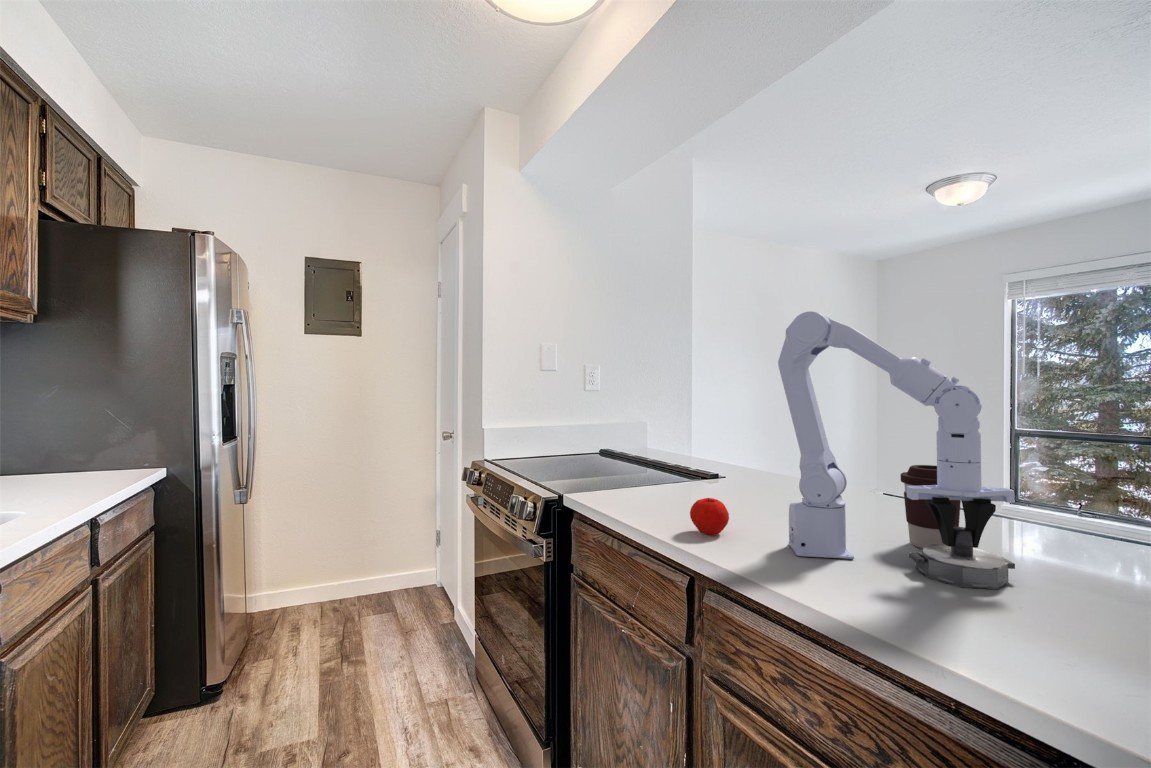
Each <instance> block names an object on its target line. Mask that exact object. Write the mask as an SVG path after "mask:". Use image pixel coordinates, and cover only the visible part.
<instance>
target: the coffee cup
mask: <svg viewBox="0 0 1151 768" xmlns="http://www.w3.org/2000/svg"><path fill="white" fill-rule="evenodd" d="M900 483H903V484H904V492H903V497H904V499H903V500H904V510H905V519H906V522H907V527H908V539H909V543H910V544H911V545H913V547H917V548H918V549H920V548H923V547H924V546H927V545H933V544H943V543H942V539H941V535H940V531H939V528H938V526H937V523H936V521H935V518H934V516H933V514H932V512H931V511H930V509H929V507H928V506H927V504H926V502H925V499H919V500H912V499H910V498H908V497H907V486H924V485H937V465H935V464H934V465H933V464H932V465H931V464H914V465H910V466H909V468H908V470H907V471H904V472H901V473H900ZM949 496H950V495H949ZM949 502H951V504H952V505H954V506H956V507H957V510H956V513H955V519H954V527H960V518H961V517H960V515H961V514H960V513H961V505H962V502H961V500H949Z"/></svg>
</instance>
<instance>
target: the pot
mask: <svg viewBox="0 0 1151 768" xmlns="http://www.w3.org/2000/svg"><path fill="white" fill-rule="evenodd" d="M1001 557H1002V556H1001ZM908 558H909V559H910V560H912V561H913V562H914V563H915V569H916V570H917V571H918V572H920V574H921V575H924V577H926V578H928V579H930V580H933V581H937V582H940V583H944V584H949V585H952V586H956V587H959V588H963V589H979V590H999V589H1001V588H1003V587H1005V586H1006V585H1008V584H1009V569H1010V570H1015V569H1016V563H1014V562H1013V561H1010V560H1009V559H1006V558H1005V557H1002V558H1003V559H1004V560H1005V566H1004V567H1002V568H999V569H972V568H964V567H958V566H953V565H949V564H945V563H941V562H938V561H935V560H933V559H930V558H928V557H926V556H925V555H924V554H923V548H918V549H916V550H915V551H914V552H908Z"/></svg>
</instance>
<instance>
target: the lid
mask: <svg viewBox="0 0 1151 768" xmlns="http://www.w3.org/2000/svg"><path fill="white" fill-rule="evenodd" d="M923 554H924V555H925V556H926V557H928V558H930V559H933V560H935V561H938V562H941V563H945V564H949V565H953V566H958V567H964V568H972V569H999V568H1002V567H1004V566H1005V560H1004V559H1003V558H1004V557H1003V558H1002V556H1000V555H998V554H997V553H993V552H990V551H987V550H985V549H980V548H973V530H972V529H969V528H965V526H964V527H963V526H959V527H954V545H953V547H949V546H947V545H945V544H933V545H927V546H924V547H923Z"/></svg>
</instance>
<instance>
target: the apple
mask: <svg viewBox="0 0 1151 768" xmlns="http://www.w3.org/2000/svg"><path fill="white" fill-rule="evenodd" d="M729 515H730V513H729V510H728V509H727V507H726V505H725V504H724V503H723V502H722V501H720V500H719V499H715V498H712V497H705V498H701V499H697V500H696V501H695V502H694V503H693V504H692V506H691V507H690V511H689V518H690V520H691V522H692V523H693V525H694V526H695V528H696V529H697V530H698V531H699V532H700V533H701V534H703V535H707V536H717V535H719V534H721V533H722V532H723V530H724V529H725V528H726V526H727V525H728V524H729V521H730V516H729Z"/></svg>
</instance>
